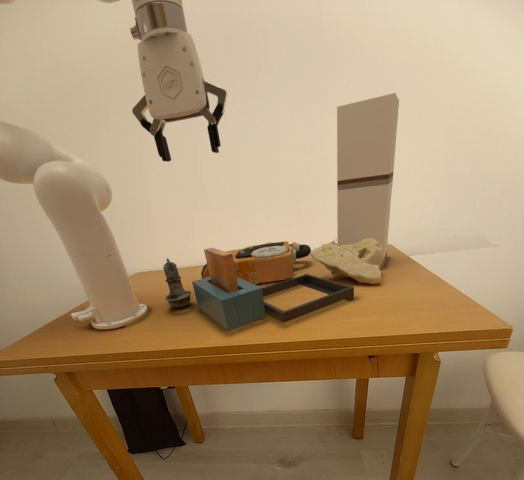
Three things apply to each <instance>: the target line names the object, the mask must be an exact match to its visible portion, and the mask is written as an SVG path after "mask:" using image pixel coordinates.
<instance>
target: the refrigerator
mask: <svg viewBox="0 0 524 480" xmlns="http://www.w3.org/2000/svg"><path fill="white" fill-rule="evenodd" d="M399 106H400V99H399V97H398V95H397V93H396V92H393V93H389V94H385V95H381V96H377V97H376V96H375V97H373V98H368V99H364V100H359V101H355V102H352V103H351V102H350V103H348V104H343V105H339V106H337V107H336V172H337V173H336V174H337V175H336V177H337V178H336V182H337V183H336V188H337V190H336V194H337V195H336V197H337V198H336V201H337V205H336V206H337V207H336V209H337V214H336V215H337V217H336V219H337V220H336V221H337V232H336V233H337V244H338V246H341V245H352V244H356V243H358V242H360V241H362V240H364V239H367V238H373V239H375V240H376V241H378V242H379V243H380V245H381V246H382V247H383V252H384V257H383V258H384V260H383V262H382V264H381V266H380V267H379V268H380V270H383V269H384V266H385V264H386V261H387V257H388V243H389V242H388V240H389V230H390V229H389V228H390V218H391V217H390V216H391V201H392V189H393V183H394V182H393V181H394V172H395V171H394V170H395V157H396V146H397V144H396V143H397V133H398V121H399V120H398V119H399V108H400V107H399Z"/></svg>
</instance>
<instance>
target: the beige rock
mask: <svg viewBox="0 0 524 480" xmlns="http://www.w3.org/2000/svg"><path fill="white" fill-rule="evenodd" d="M336 241H337V242H336ZM309 255H310V256H311V258H312V259H314V260H315V261H317V262H319V263H321V264H322V265H323V266H324V267H325V268H326V269H327V270H328V271H329V272H330V274H331V275H332V278H334V279H338V278H341V279H344V278H352V279H354V280H355V281H356V282H358V283H359V284H363V283H364V284H371V285H376V284H378V283H380V282H381V280H382V271H381V269H380V268H379V267H380V266H381V264H382V262H383V260H384V258H383V257H384V252H383V247H382V246H381V245H380V243H379V242H378V241H376V240H375V239H373V238H367V239H364V240H362V241H360V242H358V243H356V244H352V245H341V246H338V238H336V239H333V240H332V241H330V242H328V243H322V244H321V246H319V247H317V248H314V249H312V250H311V253H310V254H309Z"/></svg>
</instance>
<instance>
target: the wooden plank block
mask: <svg viewBox="0 0 524 480" xmlns="http://www.w3.org/2000/svg"><path fill="white" fill-rule="evenodd" d="M203 251H204V256H205V260H206V264H207V266H208V270H209V274H210V279H211V283H212V284H213V285H215V286H216V287H218V288H220V289H222V290H224V291H225V292H227V293H231V292H234V291H237V290H239V288H238V282H237V277H236V271H235V266H234V260H233V254H232V253H228V252H226V250H222V249H218V248H216V247H215V248H214V247H208V248H204V249H203Z"/></svg>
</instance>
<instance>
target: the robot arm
mask: <svg viewBox="0 0 524 480" xmlns="http://www.w3.org/2000/svg"><path fill="white" fill-rule="evenodd" d="M98 1H99V2H101V3H105V4H112V3H113V4H114V3H116V2H119V1H120V0H98ZM14 2H15V0H0V5H9V4H10V5H11V4H12V3H14ZM131 3H132V4H131V5H132V7H133V11H134V15H135V17H134V21H135V25H133V27H130V28H129V30H130V34H131V37H132V39H133V40H134V41H135V40H139V41H140V42H137V54H138V55H137V56H138V64H139V69H140V76H141V81H142V86H143V92H144V95H143V96H142V97H141V98H140V100H138V102H137V103H136V104H135V105H134V106H133V107H132V109H131V112H132V114H133V116H134V117H135V118H136V120H137V121H138V123H140V125H141V127H142V128H144V129H145V130H146V131H147V132H148V133H149V134H150V135H151V136H153V138H154V142H155V145H156V150H157V155H158V156H159V157H160V158H161V160H162V162H171V161H172V157H171V153H170V152H171V151H170V150H169V145H168V141H167V137H166V136H164V134H163V133H164V130H165V127H166V125H167V123H173V122H179V121H185V120H190V119H194V118H198V117H203V118H204V119H206V120H207V124H208V125H207V126H206V127H207V133H208V138H209V144H210V149H211V152H212V153H215V154H218V153H220V150H219V148H221V139H220V133H219V128H218V126H219V124H220V121H221V120H222V117H223V115H224V113H225V110H226V109H225V108H226V104H227V101H228V96H229V95H228V92H227V90H226V89H224V88H222V87H220V86H218V85H215V84H213V83H210V82H208V81H206V80H205V77H204V73H203V68H202V65H201V61H200V58H199V54H198V51H197V48H196V45H195V41H194V38H193V37H192V34H190V33H189V32H188V28H187V22H186V17H185V13H184V7H183V1H182V0H131ZM209 94H210V95H212V96H214V97H217V102H216V103H217V104H216V106H215V108H214V110H213V112H211V111H210V108H211V107H210V99H209ZM147 110H148V113H149V115H150V117H151V118H153V120H152V122H150V120H148V119H147V116H146V115H145V113H146V112H147ZM0 180H2V181H3V182H7V183H12V184H17V185H18V184H22V185H32V186H33V190H34V194H35V197H36V199H37V201H38V203H39V205H40V207H41V209H42V210H43V212H44V213H45V215H46V216H47V218H48V219H49V221H50V222H51V224H52V226H53V227H54V229H55V231H56V233H57V235H58V236H59V238H60V240H61V242H62V245H63V247H64V249H65V251H66V254H67V256H68V257H69V259H70V261H71V264H72V266H73V269H74V271H75V272H76V274H77V278H78V279H79V282H80V284H81V287H82V288H83V290H84V293H85V295H86V297H87V299H88V302H89V307H86V308H85V310H80V311H75V312H72V313H70V315H71V317H72V320H73V321H74V322H75V323H76V322H79V323H83V322H86V321H90V324H91V326H92V328H93V329H95V330H113V329H118V328H121V327H125V326H126V325H125V324H127V323H130V322H133V321H135V320H137V319H139V318H141V317H142V316H144V315H145V314H146V313H147V312H148V306H147V305H146V304H143V303H139V300H138V299H137V295H136V293H135V290H134V287H133V285H132V282H131V280H130V277H129V273H128V271H127V268H126V265H125V263H124V259H123V258H122V255H121V251H120V249H119V247H118V244H117V241H116V238H115V236H114V234H113V231H112V229H111V227H110V225H109V223H108V221H107V219H106V217H105V215H104V214H103V212H104V211H105V210H107V209H108V208H109V206H110V205H111V202H112V198H113V192H112V188H111V185H110V183H109V181H108V179H107V178H106V176H104V174H103V173H102V172H101V171H100V170H99V169H97V168H95V167H94V166H93V165H92V164H90V163H89V162H87V161H85V160H84V159H82V158H80V157H79V156H77V155H76V154H74V153H72V152H70V151H69V150H67V149H65V148H64V147H62V146H61V145H59V144H57V143H56V142H55V141H53V140H51V139H49V138H48V137H46V136H44V135H43V134H40V133H39V132H37V131H34V130H32V129H28V128H26V127H22V126H19V125H16V124H12V123H9V122H5V121H1V120H0Z"/></svg>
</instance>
